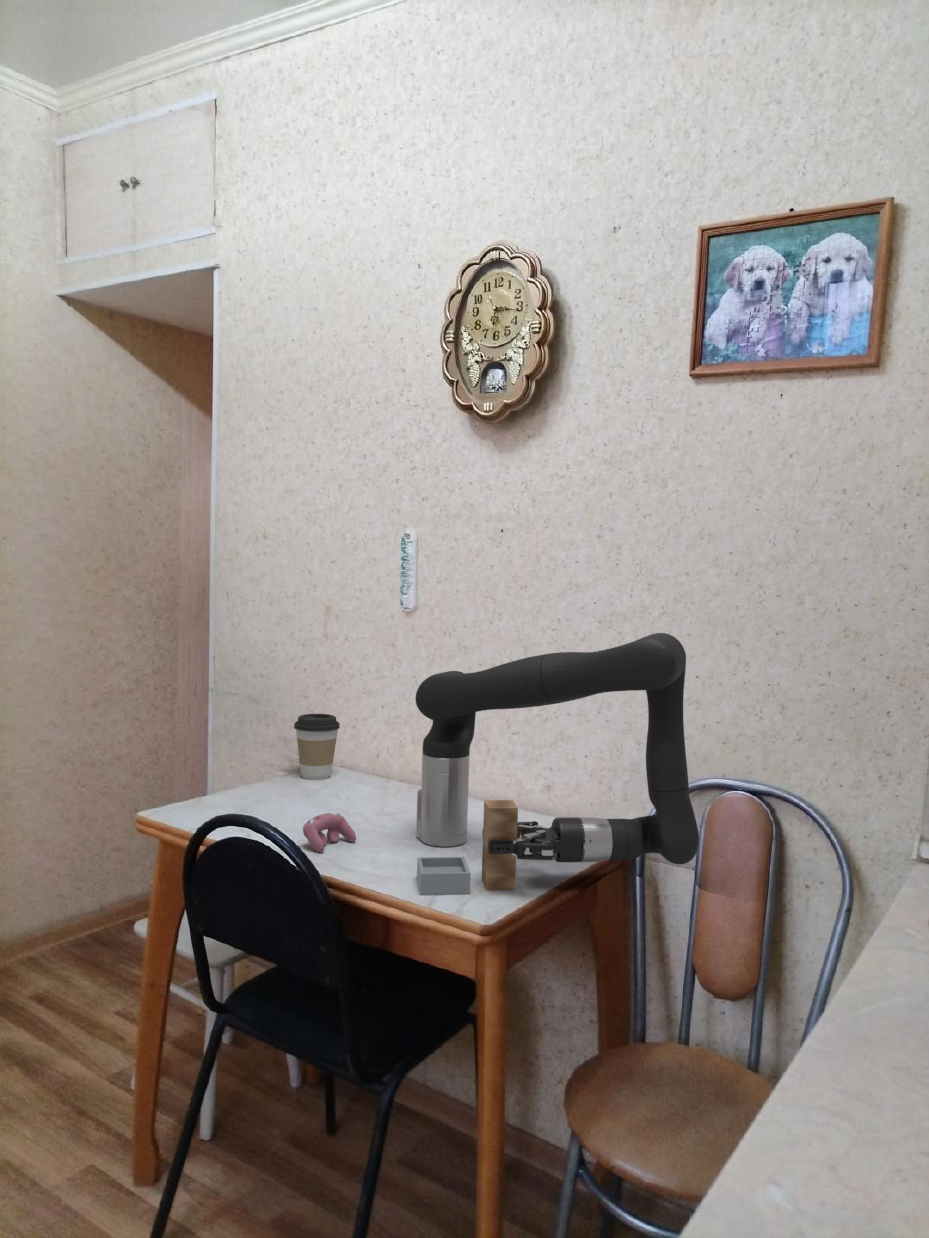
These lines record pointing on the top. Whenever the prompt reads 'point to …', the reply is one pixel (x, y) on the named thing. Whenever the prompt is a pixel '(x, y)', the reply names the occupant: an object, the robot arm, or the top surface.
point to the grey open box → (443, 875)
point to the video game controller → (334, 826)
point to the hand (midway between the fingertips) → (485, 840)
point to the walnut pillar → (499, 827)
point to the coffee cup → (316, 744)
